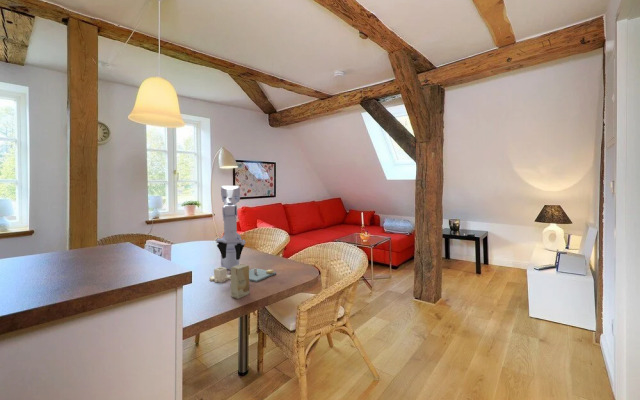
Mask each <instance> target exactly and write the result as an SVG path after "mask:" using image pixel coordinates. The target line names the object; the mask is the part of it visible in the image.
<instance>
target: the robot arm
mask: <svg viewBox="0 0 640 400" xmlns="http://www.w3.org/2000/svg"><path fill="white" fill-rule="evenodd" d="M220 195H221V200H222V203H223V206H222V220H223V236H222V237H221V238H216V239H215V240H216V241H215V243H216V247H217V248H218V250H219V252H220V266H219V267H224V268H227V270H230V271H231V267H234V266H236V265H240V259H241V256H242V251H243V249H244V247H245V245H246V239H242V236H241V234H239V233H238V232H237V231H238V229H237V226H238V225H237V217H238V206H237V203H239V202H240V199H241V187H240V185H221V187H220Z"/></svg>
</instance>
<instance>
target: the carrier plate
mask: <svg viewBox="0 0 640 400" xmlns="http://www.w3.org/2000/svg"><path fill="white" fill-rule="evenodd" d="M276 274H277V272H276V271H275V270H274V269H261V268H257V267H254V268H251V269H249V282H255V283H258V282H260V281H262V280H264V279H267V278H269V277H271V276H274V275H276Z"/></svg>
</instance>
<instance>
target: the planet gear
mask: <svg viewBox="0 0 640 400" xmlns="http://www.w3.org/2000/svg"><path fill="white" fill-rule="evenodd" d="M227 270H228V269H227V268H224V267H220V266H219V267H216V268H214V269H213V275H211V276H210V277H209V281H210V282H214V283H222V282H223V283H224V282H226V281H227V280H230V281H231V274H228V272H227Z"/></svg>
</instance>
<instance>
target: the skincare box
mask: <svg viewBox="0 0 640 400" xmlns="http://www.w3.org/2000/svg"><path fill="white" fill-rule="evenodd" d="M249 270H250V265H249V264H245V263H241V264H240V263H239V265H236V266H234V267H231V270H230V275H231V278H230V295H231V296H230V297H232V298H235V299H240V298H243V297H246V296H248V295H250V281H249Z"/></svg>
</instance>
